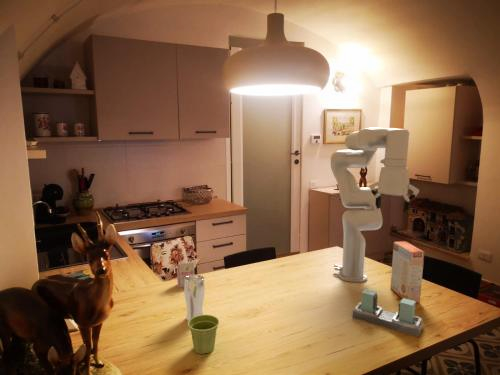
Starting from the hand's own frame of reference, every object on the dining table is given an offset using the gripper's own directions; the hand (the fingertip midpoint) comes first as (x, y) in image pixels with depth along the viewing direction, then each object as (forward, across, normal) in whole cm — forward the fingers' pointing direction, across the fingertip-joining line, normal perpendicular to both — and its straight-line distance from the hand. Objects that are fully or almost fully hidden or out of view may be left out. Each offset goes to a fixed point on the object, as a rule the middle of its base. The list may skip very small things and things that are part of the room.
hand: (391, 209), depth 137 cm
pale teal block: (+35, +11, -13) cm, 39 cm away
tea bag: (+38, -74, -32) cm, 90 cm away
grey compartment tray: (+37, +4, -13) cm, 40 cm away
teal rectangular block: (+35, -2, -13) cm, 37 cm away
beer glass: (+38, -51, -51) cm, 81 cm away
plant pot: (+37, -36, -63) cm, 81 cm away
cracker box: (+38, +4, +14) cm, 41 cm away
